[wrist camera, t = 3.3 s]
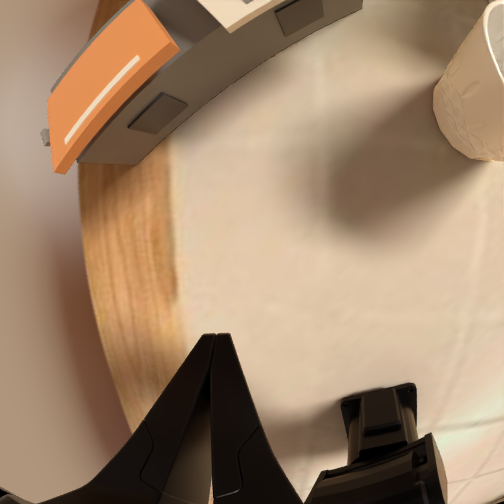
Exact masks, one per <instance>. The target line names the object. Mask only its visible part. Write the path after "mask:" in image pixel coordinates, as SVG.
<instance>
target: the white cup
mask: <svg viewBox="0 0 504 504" xmlns="http://www.w3.org/2000/svg"><path fill="white" fill-rule="evenodd" d="M433 111H434V114H435V117H436V120H437V123H438V126H439V129H440V130H441V132H442V133H443V134H444V136H445V137H446V138H447V140H448V141H449V143H450V144H451V145H452V147H453V148H455V149H456V150H458V151H459V152H461V153H462V154H464V155H465V156H467V157H468V158H470V159H477V160H484V161H491V160H494V161H504V0H496V1H493V2H491V3H490V4H489V5H488V6H487V7H486V8H485V10H484V12H483V13H482V15H481V16H480V18H479V19H478V21H477V22H476V24H475V25H474V27H473V28H472V30H471V31H470V33H469V34H468V36H467V37H466V38H465V40H464V41H463V42H462V44H461V45H460V47H459V48H458V50H457V52H456V53H455V55H454V56H453V58H452V59H451V61H450V63H449V64H448V65H447V67H446V71H445V73H444V74H443V76H442V77H441V79H440V80H439V82H438V83H437V85H436V86H435V88H434V91H433Z"/></svg>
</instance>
